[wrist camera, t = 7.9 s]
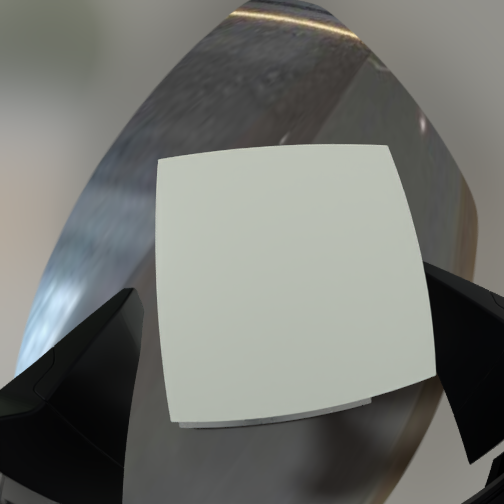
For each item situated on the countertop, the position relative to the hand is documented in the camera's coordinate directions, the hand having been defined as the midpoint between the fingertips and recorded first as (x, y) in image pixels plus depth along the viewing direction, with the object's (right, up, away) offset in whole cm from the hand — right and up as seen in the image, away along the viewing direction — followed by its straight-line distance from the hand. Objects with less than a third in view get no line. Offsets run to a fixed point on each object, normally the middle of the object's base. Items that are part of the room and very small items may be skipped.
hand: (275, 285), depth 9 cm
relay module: (0, -2, +8) cm, 8 cm away
